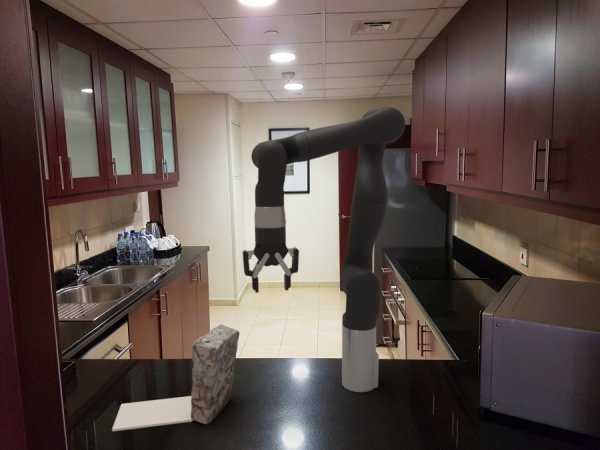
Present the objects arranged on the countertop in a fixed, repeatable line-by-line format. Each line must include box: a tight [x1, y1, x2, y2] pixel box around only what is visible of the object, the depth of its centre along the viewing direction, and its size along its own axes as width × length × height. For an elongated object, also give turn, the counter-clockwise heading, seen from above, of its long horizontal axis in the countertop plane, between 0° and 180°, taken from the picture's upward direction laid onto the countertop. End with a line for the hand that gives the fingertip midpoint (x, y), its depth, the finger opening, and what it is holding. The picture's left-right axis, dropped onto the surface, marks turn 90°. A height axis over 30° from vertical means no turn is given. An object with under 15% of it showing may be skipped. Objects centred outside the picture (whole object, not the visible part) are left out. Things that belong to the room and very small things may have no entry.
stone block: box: [190, 324, 240, 425], centre depth 105 cm, size 13×7×20 cm, turn 167°
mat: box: [111, 395, 194, 432], centre depth 106 cm, size 18×11×1 cm, turn 102°
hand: (271, 290), depth 106 cm, fingers open, 7 cm apart
